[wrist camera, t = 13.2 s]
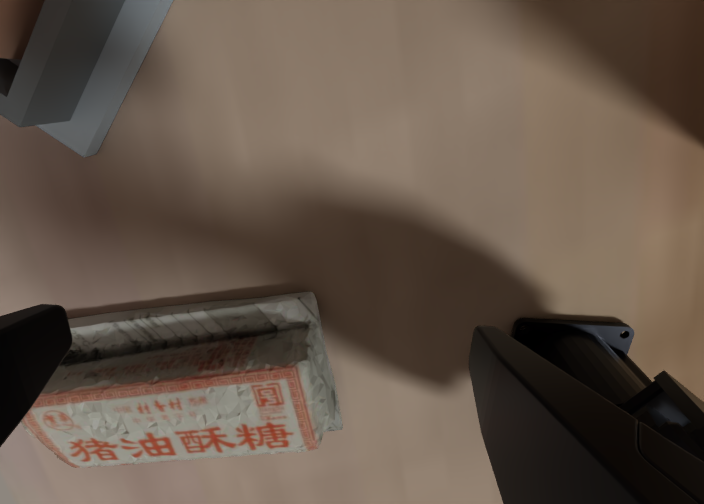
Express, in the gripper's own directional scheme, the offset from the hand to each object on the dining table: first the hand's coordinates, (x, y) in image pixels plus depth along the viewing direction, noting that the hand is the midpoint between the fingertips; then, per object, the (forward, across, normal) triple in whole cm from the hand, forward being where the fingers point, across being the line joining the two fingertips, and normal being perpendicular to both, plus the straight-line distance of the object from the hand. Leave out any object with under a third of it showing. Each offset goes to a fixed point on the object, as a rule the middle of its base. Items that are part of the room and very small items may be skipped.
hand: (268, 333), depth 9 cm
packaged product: (+14, +8, +12) cm, 20 cm away
